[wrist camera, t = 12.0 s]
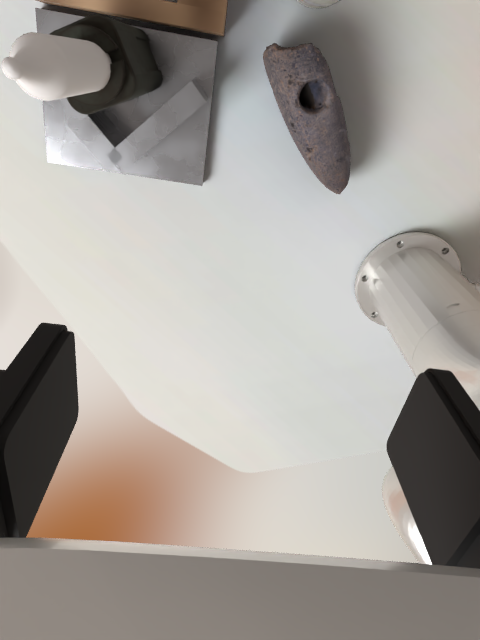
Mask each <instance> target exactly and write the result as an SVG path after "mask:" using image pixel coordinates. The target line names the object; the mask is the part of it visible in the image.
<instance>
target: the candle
mask: <svg viewBox="0 0 480 640" xmlns="http://www.w3.org/2000/svg"><path fill="white" fill-rule="evenodd" d="M148 42H149V38H148V36H147V34H146V33H145V32H144V31H143V30H141V29H139V28H136V27H134V26H131V25H128V24H126V23H123V22H120V21H118V20H115V19H112V18H110V17H107V16H104V15H102V14H92V15H89V16H87V17H85V18H82V19H80V20H78V21H75V22H73V23H71V24H69V25H66V26H64V27H62V28H60V29H57V30H55V31H53V32H51V33H50V34H43V33H34V32H30V33H26V34H23V35H22V36H20V37H19V38H17V39H16V40H15V42H14V43H13V44H12V47H11V50H10V53H9V57H6V58H5V59H4V60H3V61H2V64H1V67H2V71H3V73H4V74H5V75H6V76H7V77H8V78H10V79H12V80H15V81H16V82H17V84H18V85H19V86H20V87H21V88H22V89H23V90H24V91H25V92H26V93H27V94H29V95H30V96H32V97H34V98H36V99H39V100H43V101H52V100H57V99H62V98H67V100H68V102H69V104H70V105H71V107H72V108H73V109H74V110H76V111H77V112H79V113H81V114H87V115H88V114H93V113H95V112H98V111H101V110H104V109H107V108H109V107H112V106H115V105H118V104H121V103H123V102H126V101H129V100H132V99H134V98H137V97H139V96H142V95H144V94H147V93H149V92H152V91H154V90H156V89H158V88H159V87H160V85H161V83H162V72H161V70H158V67H157V65H156V62H155V59H154V57H153V54H152V51H151V49H150V46H149V43H148Z"/></svg>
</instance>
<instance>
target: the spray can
mask: <svg viewBox="0 0 480 640" xmlns="http://www.w3.org/2000/svg"><path fill="white" fill-rule="evenodd" d="M297 1H298V2H299V3H301V4H302V5H304V6H306V7H309V8H316V9H319V8H325V7H328V6H331V5H333V4H335V3H337V2H338V1H340V0H297Z"/></svg>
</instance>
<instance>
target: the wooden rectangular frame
mask: <svg viewBox="0 0 480 640" xmlns="http://www.w3.org/2000/svg"><path fill="white" fill-rule="evenodd" d="M37 1H40V2H43V3H46V4H51V5H57V6H62V7H67V8H73V9H78V10H84V11H89V12H95V13H100V14H105V15H111V16H116V17H122V18H127V19H132V20H138V21H143V22H149V23H154V24H160V25H165V26H170V27H176V28H181V29H187V30H192V31H197V32H203V33H208V34H214V35H219V36H224V32H225V23H226V14H227V5H228V0H177V3H175V2H169V1H164V0H37Z"/></svg>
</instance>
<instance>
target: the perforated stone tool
mask: <svg viewBox="0 0 480 640" xmlns="http://www.w3.org/2000/svg"><path fill="white" fill-rule="evenodd" d="M263 60H264V65H265V69H266V72H267V75H268V78H269V81H270V84H271V87H272V89H273V92H274V96H275V98H276V101H277V103H278V106H279V109H280V111H281V113H282V116H283V118H284V121H285V123H286V125H287V127H288V129H289V132H290V134H291V136H292V138H293V140H294V142H295V144H296V146H297V147H298V149H299V151H300V153H301V154H302V156H303V158H304V159H305V161H306V163H307V164H308V166H309V167H310V169H311V170H312V171H313V173H314V174H315V175H316V177H317V178H318V179H319V180H320V181H321V183H322V184H324V185H325V187H326V188H328V189H329V190H331V191H333V192H334V193H336V194H340V193H341V192H342V191H343V190H344V189H345V187H346V186H347V184H348V181H349V176H350V145H349V141H348V136H347V129H346V123H345V118H344V114H343V110H342V106H341V102H340V98H339V97H338V96H337V95H336V91H335V88H334V85H333V81H332V77H331V74H330V69H329V66H328V65H327V63H326V60H325V58H324V57H323V56H322V54H321V52H320V50H319V49H318V48H316V47H315V46H313V44H312V43H309V44H301V45H299V46H297V47H292V48H291V47H289V48H286V47H285V48H284V47H281V46H278V45H277V44H276V43H273V44H272V45H270V46H268V47H266V50H265V52H264V54H263Z"/></svg>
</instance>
